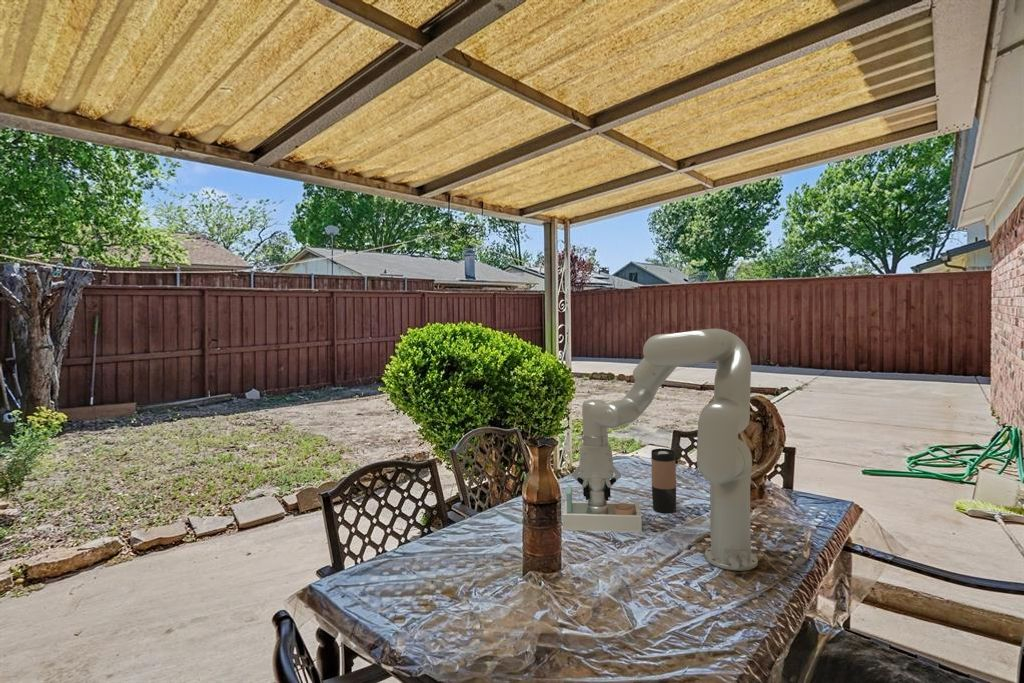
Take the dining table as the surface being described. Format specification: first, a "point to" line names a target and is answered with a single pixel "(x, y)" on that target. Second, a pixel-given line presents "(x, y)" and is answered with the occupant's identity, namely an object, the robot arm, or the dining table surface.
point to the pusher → (569, 499)
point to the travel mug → (663, 480)
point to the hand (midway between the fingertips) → (597, 498)
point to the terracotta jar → (623, 509)
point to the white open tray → (601, 519)
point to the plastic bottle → (597, 495)
